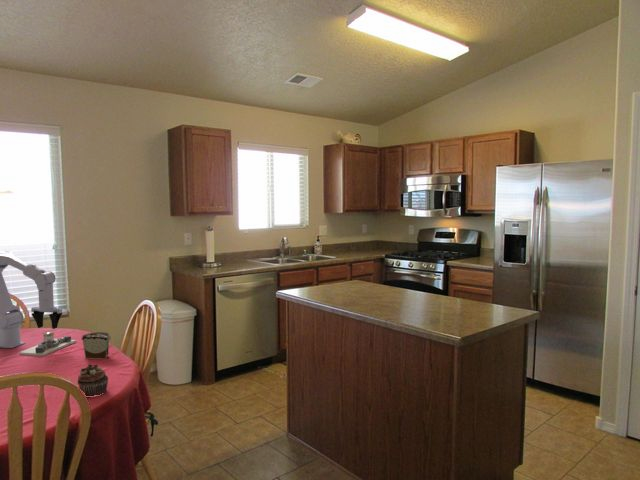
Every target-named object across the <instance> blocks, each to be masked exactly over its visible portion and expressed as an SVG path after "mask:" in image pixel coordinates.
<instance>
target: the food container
mask: <svg viewBox="0 0 640 480" xmlns="http://www.w3.org/2000/svg"><path fill="white" fill-rule="evenodd" d="M111 337H112V336H111V334H110V333H109V332H106V331H96V332H94V331H93V332H89V333H84V334H82V335H81V341H82V344H83V351H84V358H85V359H93V360H95V359H98V360H107V359H108V357H109V346H110V341H111V339H112V338H111Z"/></svg>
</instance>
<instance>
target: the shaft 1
mask: <svg viewBox="0 0 640 480" xmlns="http://www.w3.org/2000/svg"><path fill="white" fill-rule="evenodd" d="M35 349H36V353H43V352H44V351H45V349H47V345H46V344H43V345H41V346H40V347H36V348H35Z"/></svg>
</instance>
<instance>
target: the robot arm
mask: <svg viewBox="0 0 640 480" xmlns="http://www.w3.org/2000/svg"><path fill="white" fill-rule="evenodd" d="M8 266H11V267H12V268H15V269H17V270H20V271H22V274H23V276H25V277H27V278H29V279H31V280H33V281H34V283H35V284H36V288H37V290H38V293H37V294H38V306H33V307H31V311H30V312H31V314H30V315H31V316H32V318H33V319H34V321H35V324H36V326H37V329H41V328H42V327H44V315H45V313H49V314H48V316H49V318H50V321H51V329H52V330H54V329H58V325H59V321H60V319H61V317H62V315H63V307H56V306H55V305H54V304H55V302H54V301H55V300H54V283H55V282H56V274H55V273H54V272H52V271H51V270H49V271H46V270H45V269H43V268H41V267H39V266H37V265H36V264H35V263H33V264H31V263H30V264H28V263H26V262H24V261H23V260H21V259H19V258H18V257H16V256H15V254H14V253H13V252H10V251H9V250H4V251H0V348H3V349H13V348H16V347H19V346H21V345H24V344H26V342H25V341H22V340H21V325H22V324H21V323H22V322H23V321H24V317H25V316H24V314H23V312H22V311H21V310H20V307H19V306H17V305H15V304H13V301H12V298H11V294H10V292H9V290H8V287H7V284H6V282H5V279H4V275H3V271H4V270H5V269H7V267H8Z"/></svg>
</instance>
